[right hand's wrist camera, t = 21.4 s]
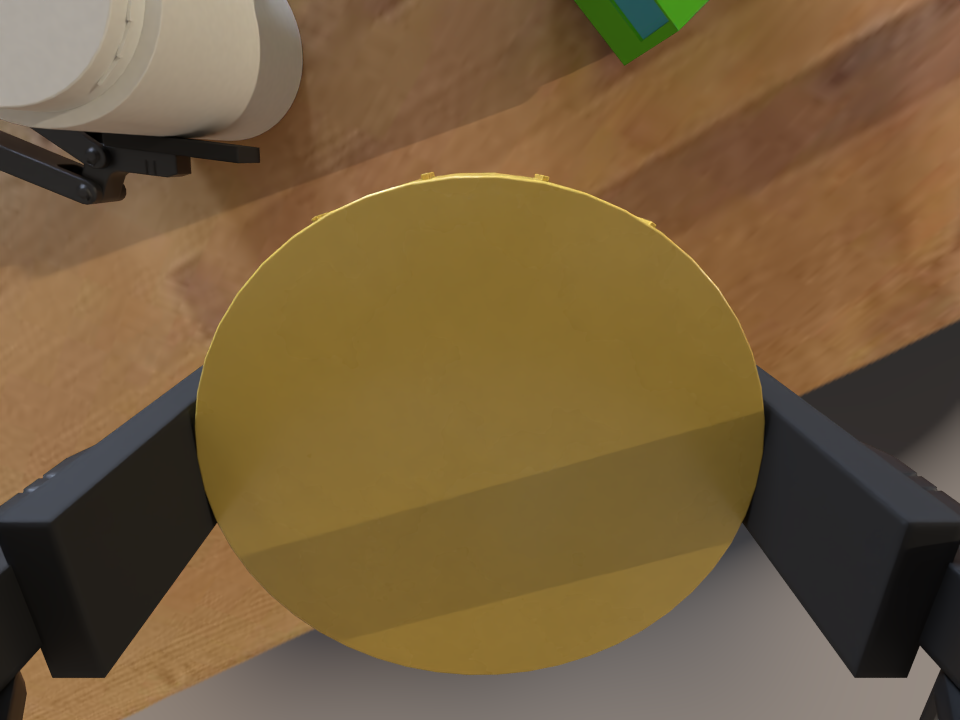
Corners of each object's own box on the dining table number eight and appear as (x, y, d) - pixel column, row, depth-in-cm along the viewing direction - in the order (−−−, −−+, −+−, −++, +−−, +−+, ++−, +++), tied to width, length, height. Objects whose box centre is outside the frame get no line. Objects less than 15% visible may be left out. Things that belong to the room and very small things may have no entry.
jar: (293, -54, 29) (85, -288, 14) (310, 142, 33) (160, 129, 17) (111, -59, 29) (-302, -299, 14) (148, 138, 33) (-146, 122, 17)
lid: (289, 621, 14) (261, 690, 12) (175, 192, 10) (108, 199, 8) (702, 597, 14) (736, 664, 12) (744, 146, 10) (804, 143, 8)
